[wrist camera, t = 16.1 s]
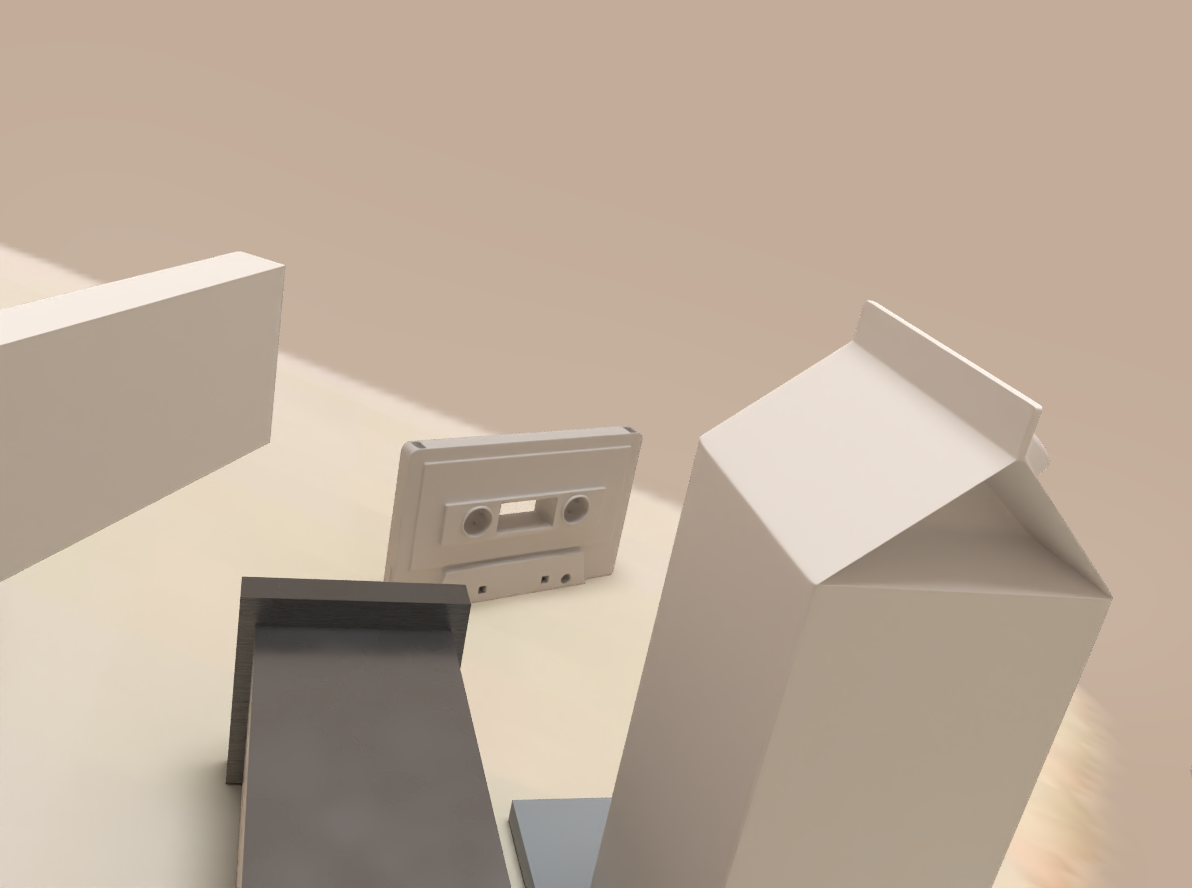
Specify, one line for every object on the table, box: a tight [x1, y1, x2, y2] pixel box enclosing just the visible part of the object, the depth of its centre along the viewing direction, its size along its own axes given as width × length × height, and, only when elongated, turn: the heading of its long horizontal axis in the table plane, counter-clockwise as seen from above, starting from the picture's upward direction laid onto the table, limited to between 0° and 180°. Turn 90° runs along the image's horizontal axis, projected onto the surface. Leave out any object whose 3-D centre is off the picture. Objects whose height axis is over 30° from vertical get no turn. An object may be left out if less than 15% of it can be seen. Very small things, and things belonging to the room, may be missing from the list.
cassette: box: [384, 426, 642, 603], centre depth 48 cm, size 12×2×8 cm, turn 124°
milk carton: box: [590, 300, 1113, 888], centre depth 27 cm, size 7×7×19 cm
